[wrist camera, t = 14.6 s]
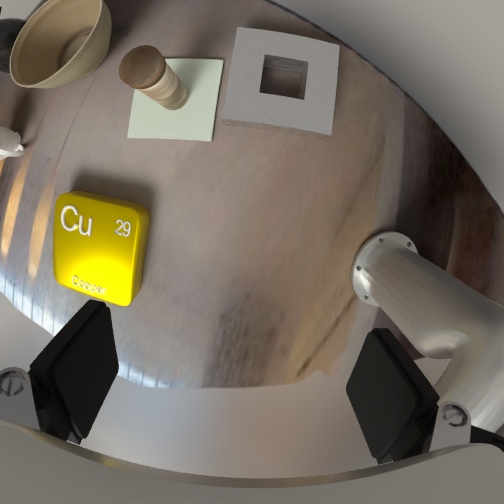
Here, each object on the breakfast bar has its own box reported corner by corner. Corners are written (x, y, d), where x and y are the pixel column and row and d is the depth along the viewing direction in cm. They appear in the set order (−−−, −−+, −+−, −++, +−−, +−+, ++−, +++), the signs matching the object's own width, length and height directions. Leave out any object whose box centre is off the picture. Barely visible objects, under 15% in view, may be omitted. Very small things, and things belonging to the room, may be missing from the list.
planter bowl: (144, 56, 30) (116, 28, 20) (62, 117, 32) (18, 111, 22) (114, -2, 26) (88, -31, 15) (41, 54, 27) (5, 40, 17)
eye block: (328, 57, 31) (339, 45, 27) (320, 138, 35) (331, 135, 30) (238, 42, 30) (237, 27, 26) (225, 124, 34) (222, 118, 30)
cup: (10, 121, 31) (-19, 119, 23) (39, 133, 32) (9, 132, 25) (-1, 156, 32) (-29, 160, 25) (28, 172, 34) (-3, 177, 26)
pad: (223, 61, 31) (223, 60, 31) (211, 141, 35) (211, 141, 34) (142, 61, 31) (140, 60, 30) (129, 138, 34) (127, 137, 34)
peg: (191, 83, 32) (165, 43, 18) (187, 111, 33) (157, 84, 20) (162, 82, 31) (123, 47, 18) (157, 110, 33) (114, 87, 19)
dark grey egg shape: (59, 26, 26) (11, -1, 11) (34, 76, 29) (-22, 61, 14) (28, 29, 24) (-18, 9, 10) (6, 75, 27) (-45, 65, 13)
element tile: (65, 273, 40) (51, 284, 36) (70, 187, 36) (53, 191, 31) (140, 297, 42) (130, 312, 37) (153, 206, 38) (142, 212, 33)
